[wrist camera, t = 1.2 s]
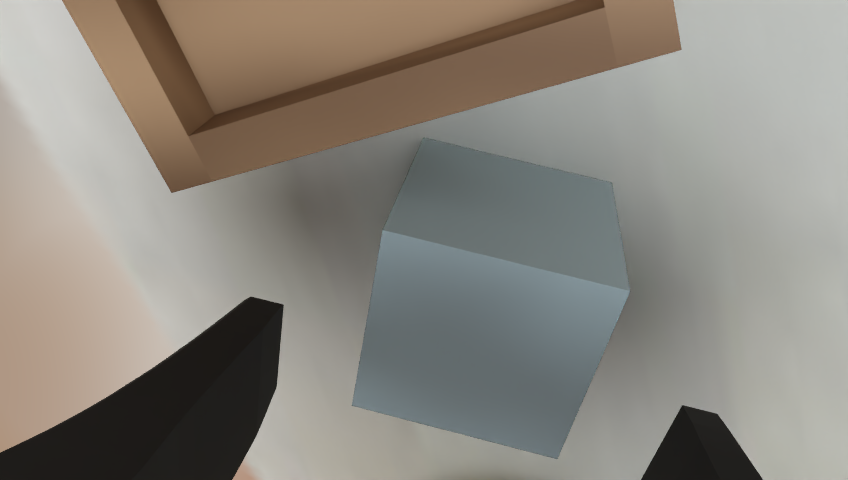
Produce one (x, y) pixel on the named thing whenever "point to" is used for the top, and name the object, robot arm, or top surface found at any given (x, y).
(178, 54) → the walnut base
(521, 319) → the block
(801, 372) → the top surface
